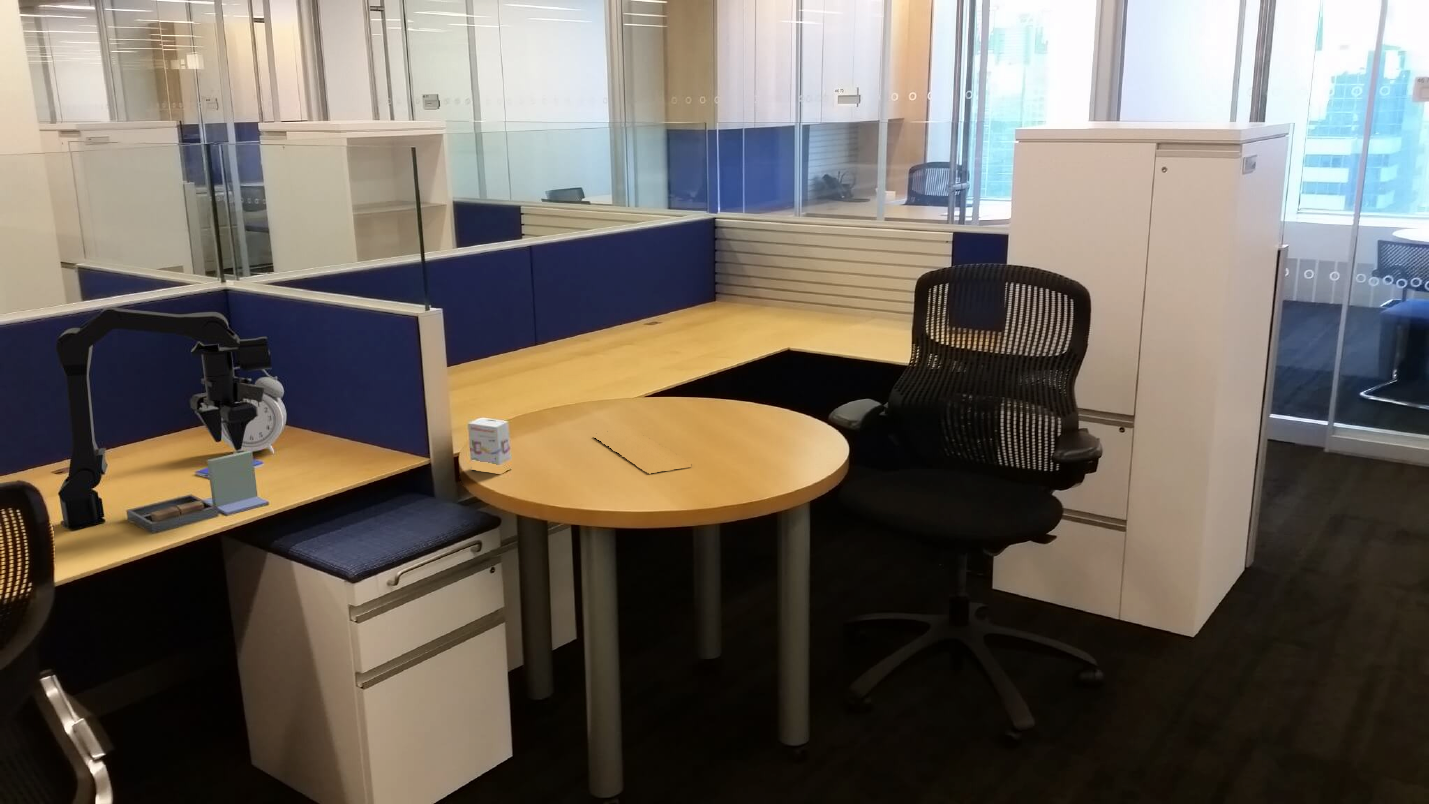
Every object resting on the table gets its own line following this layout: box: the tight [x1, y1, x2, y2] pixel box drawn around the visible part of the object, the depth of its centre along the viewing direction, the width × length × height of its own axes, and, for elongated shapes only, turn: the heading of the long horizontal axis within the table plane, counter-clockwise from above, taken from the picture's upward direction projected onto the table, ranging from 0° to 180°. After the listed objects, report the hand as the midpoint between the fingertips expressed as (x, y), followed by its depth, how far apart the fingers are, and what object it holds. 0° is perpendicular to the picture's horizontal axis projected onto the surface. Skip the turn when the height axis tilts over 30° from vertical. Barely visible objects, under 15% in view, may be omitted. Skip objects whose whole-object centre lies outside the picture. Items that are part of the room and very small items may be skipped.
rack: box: [125, 493, 220, 534], centre depth 227 cm, size 13×13×2 cm
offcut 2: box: [177, 501, 204, 515], centre depth 227 cm, size 4×3×3 cm
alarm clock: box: [221, 366, 287, 455], centre depth 270 cm, size 16×9×22 cm, turn 104°
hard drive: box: [194, 459, 265, 479], centre depth 259 cm, size 2×8×12 cm
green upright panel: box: [206, 451, 259, 507], centre depth 234 cm, size 9×2×10 cm, turn 138°
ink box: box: [467, 417, 512, 465], centre depth 255 cm, size 9×5×12 cm, turn 65°
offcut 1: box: [151, 507, 180, 522], centre depth 223 cm, size 4×3×3 cm
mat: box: [203, 496, 270, 516], centre depth 235 cm, size 9×12×1 cm
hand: (228, 445), depth 232 cm, fingers open, 9 cm apart
